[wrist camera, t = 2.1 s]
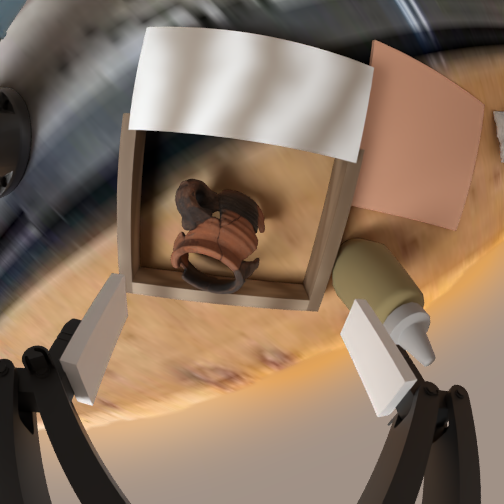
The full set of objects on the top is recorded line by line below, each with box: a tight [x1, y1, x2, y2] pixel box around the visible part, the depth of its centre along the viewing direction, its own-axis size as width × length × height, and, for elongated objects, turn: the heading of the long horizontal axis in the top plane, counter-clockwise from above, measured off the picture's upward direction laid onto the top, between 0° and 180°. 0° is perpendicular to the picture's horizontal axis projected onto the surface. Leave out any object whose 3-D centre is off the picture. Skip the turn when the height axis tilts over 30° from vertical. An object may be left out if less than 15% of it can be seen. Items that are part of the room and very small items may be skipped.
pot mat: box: [351, 40, 485, 231], centre depth 28 cm, size 20×20×1 cm
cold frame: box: [117, 27, 374, 311], centre depth 26 cm, size 23×28×4 cm
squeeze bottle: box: [332, 238, 435, 366], centre depth 26 cm, size 8×8×18 cm
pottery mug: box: [171, 179, 265, 294], centre depth 28 cm, size 12×9×8 cm
